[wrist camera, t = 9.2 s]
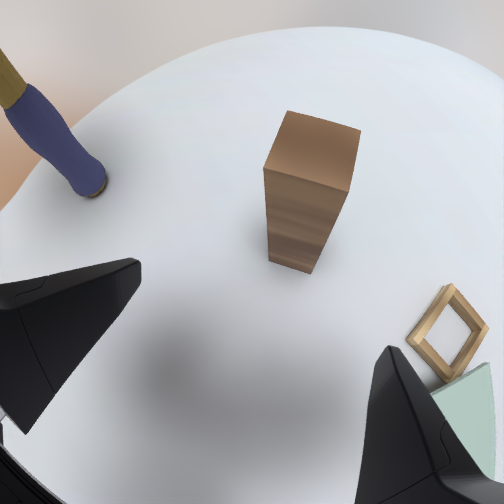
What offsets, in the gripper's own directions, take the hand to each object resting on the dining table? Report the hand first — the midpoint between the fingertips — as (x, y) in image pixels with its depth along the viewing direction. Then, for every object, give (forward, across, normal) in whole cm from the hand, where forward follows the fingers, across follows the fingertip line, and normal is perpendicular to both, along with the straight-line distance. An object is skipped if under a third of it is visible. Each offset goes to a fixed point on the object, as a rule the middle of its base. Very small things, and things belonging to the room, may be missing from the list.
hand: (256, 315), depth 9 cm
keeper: (+12, -15, +6) cm, 21 cm away
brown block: (+14, 0, +4) cm, 15 cm away
